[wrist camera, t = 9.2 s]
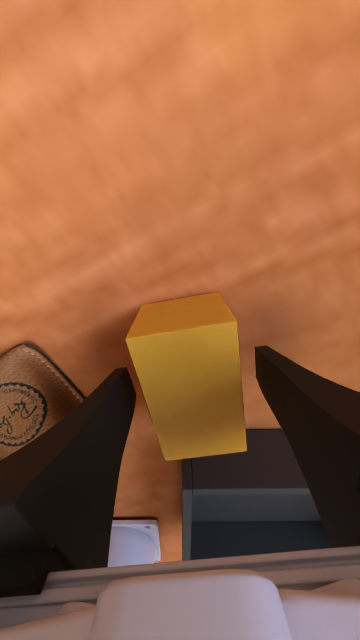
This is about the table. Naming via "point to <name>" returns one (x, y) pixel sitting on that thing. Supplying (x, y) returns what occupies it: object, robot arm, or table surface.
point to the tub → (248, 502)
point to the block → (190, 375)
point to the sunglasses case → (31, 397)
